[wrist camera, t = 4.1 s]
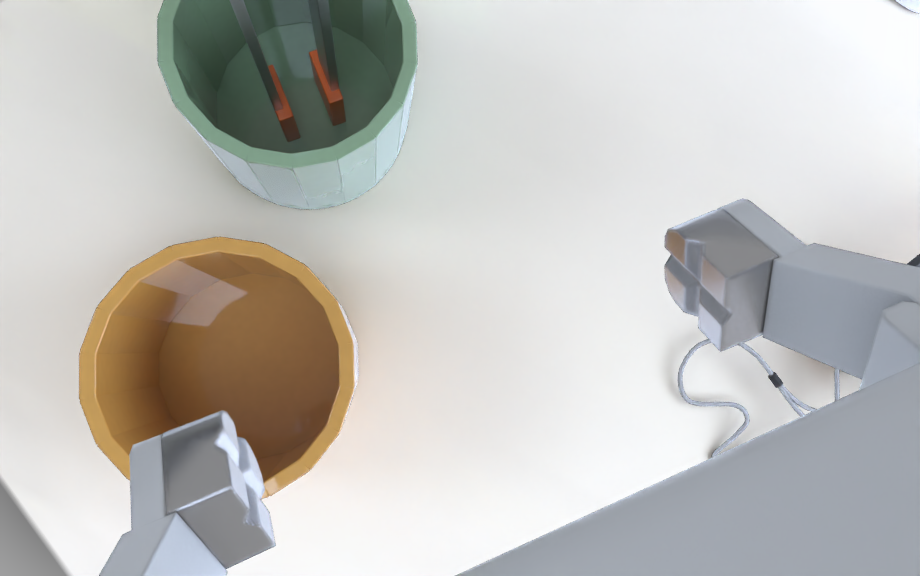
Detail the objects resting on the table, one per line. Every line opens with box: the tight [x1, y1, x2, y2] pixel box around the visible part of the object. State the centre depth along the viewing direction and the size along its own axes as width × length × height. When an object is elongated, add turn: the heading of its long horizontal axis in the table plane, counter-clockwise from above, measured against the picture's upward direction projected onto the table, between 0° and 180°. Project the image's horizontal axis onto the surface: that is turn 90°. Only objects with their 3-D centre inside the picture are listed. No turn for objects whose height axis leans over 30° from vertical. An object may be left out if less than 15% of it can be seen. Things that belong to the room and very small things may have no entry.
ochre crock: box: [79, 237, 359, 499], centre depth 32 cm, size 10×10×9 cm
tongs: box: [230, 0, 346, 142], centre depth 26 cm, size 3×3×22 cm
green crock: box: [157, 0, 418, 210], centre depth 33 cm, size 10×10×9 cm
